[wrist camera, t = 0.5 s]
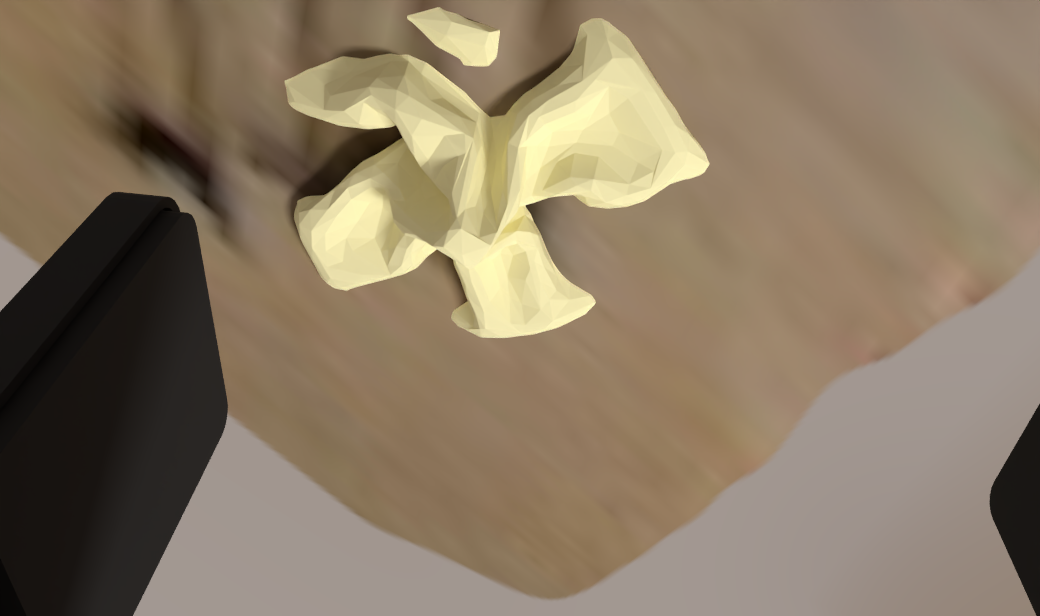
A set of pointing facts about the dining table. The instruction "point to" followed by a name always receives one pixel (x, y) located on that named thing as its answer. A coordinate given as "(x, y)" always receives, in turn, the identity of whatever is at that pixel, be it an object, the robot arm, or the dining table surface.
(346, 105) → the cloth
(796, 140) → the dining table surface
